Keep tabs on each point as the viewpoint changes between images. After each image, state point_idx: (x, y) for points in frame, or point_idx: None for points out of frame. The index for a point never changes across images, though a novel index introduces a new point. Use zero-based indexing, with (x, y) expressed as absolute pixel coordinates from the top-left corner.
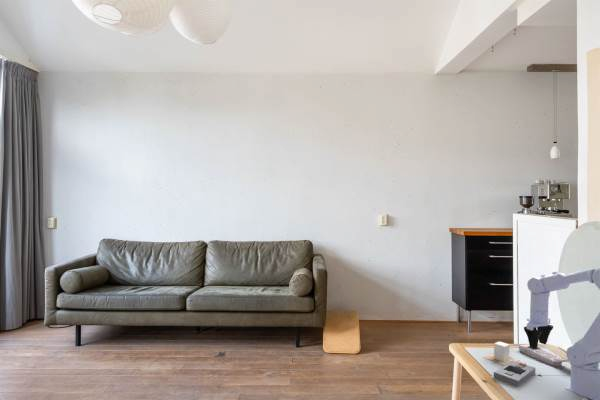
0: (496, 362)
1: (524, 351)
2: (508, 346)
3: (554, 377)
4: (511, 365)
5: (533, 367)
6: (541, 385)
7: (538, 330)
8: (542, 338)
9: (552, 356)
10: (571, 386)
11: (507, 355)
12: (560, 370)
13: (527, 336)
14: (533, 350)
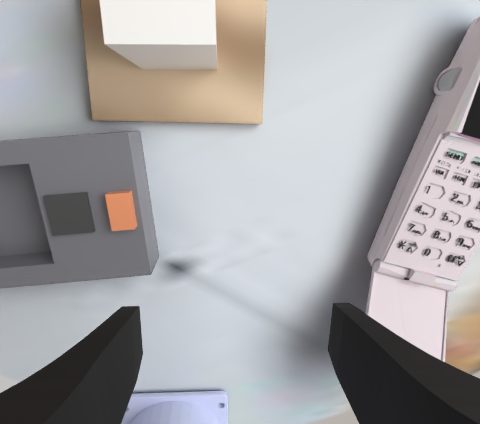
0: (84, 37)
1: (448, 73)
2: (194, 48)
3: (218, 318)
4: (35, 172)
5: (146, 265)
6: (62, 323)
7: (410, 390)
8: (352, 363)
9: (449, 247)
10: (137, 421)
11: (188, 63)
12: (337, 300)
13: (30, 377)
14: (457, 137)
